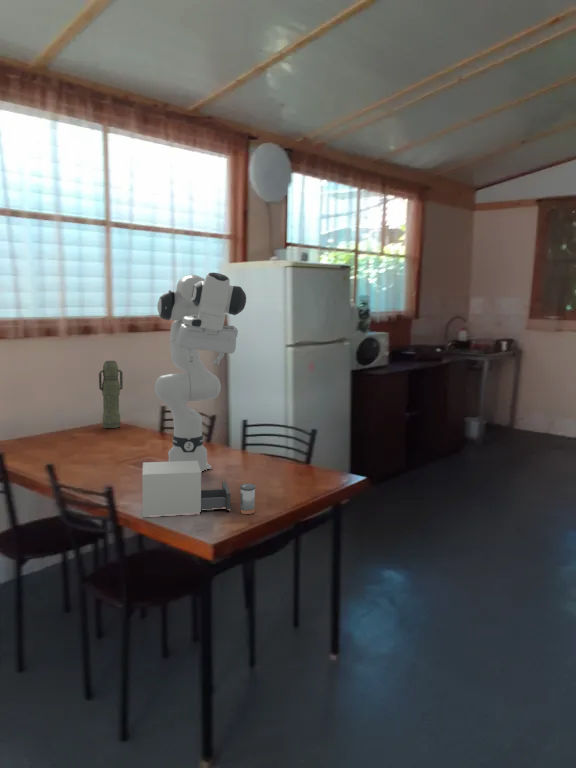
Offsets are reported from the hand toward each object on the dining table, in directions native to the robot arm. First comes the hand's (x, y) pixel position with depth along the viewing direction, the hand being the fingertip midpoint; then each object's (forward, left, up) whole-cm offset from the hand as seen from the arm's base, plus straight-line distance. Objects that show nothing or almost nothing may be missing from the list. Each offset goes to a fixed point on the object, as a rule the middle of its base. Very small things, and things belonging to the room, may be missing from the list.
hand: (203, 363), depth 202 cm
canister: (+17, +13, -47) cm, 51 cm away
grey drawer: (+10, -1, -46) cm, 47 cm away
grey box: (+10, -11, -47) cm, 49 cm away
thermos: (-121, -38, -47) cm, 135 cm away
